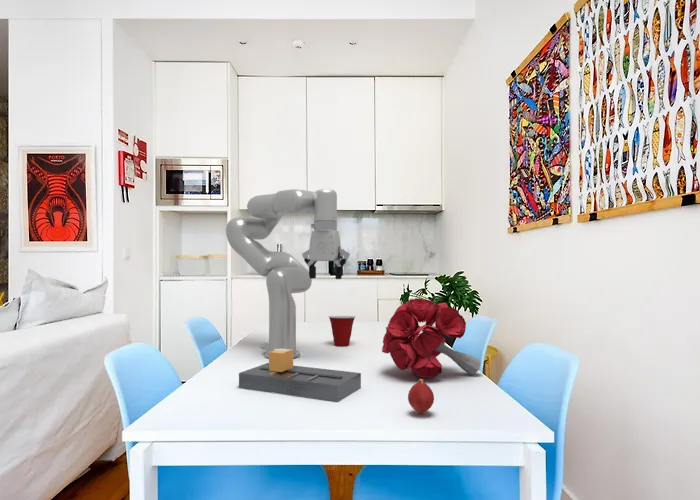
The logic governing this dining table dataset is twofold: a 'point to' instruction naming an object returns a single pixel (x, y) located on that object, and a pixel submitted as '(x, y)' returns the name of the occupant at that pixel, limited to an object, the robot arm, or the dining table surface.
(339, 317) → the plastic cup
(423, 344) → the bouquet
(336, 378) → the block
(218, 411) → the dining table surface
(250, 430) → the dining table surface
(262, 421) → the dining table surface
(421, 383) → the onion
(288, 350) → the fader knob
